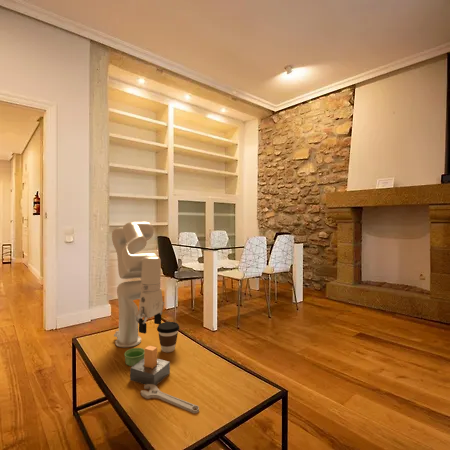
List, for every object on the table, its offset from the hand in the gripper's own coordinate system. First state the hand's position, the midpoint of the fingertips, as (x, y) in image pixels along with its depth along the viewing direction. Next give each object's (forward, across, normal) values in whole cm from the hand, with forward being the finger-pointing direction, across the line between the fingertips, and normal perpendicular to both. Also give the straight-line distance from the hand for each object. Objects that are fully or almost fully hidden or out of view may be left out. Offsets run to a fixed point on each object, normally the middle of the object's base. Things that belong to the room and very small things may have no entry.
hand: (150, 328), depth 117 cm
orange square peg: (+20, 0, -1) cm, 20 cm away
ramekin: (+21, +6, +13) cm, 25 cm away
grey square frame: (+20, 0, -1) cm, 20 cm away
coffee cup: (+21, +22, +6) cm, 31 cm away
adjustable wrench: (+20, -10, -16) cm, 28 cm away
